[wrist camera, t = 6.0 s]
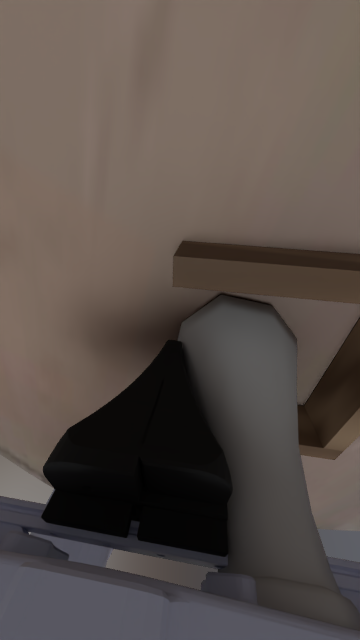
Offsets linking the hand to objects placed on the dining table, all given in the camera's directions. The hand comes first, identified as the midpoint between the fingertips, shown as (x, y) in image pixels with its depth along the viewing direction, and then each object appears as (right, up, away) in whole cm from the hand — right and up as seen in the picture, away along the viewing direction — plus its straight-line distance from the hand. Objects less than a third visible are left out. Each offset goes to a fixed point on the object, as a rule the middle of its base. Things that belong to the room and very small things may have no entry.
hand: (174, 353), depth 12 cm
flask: (+4, 0, +1) cm, 4 cm away
